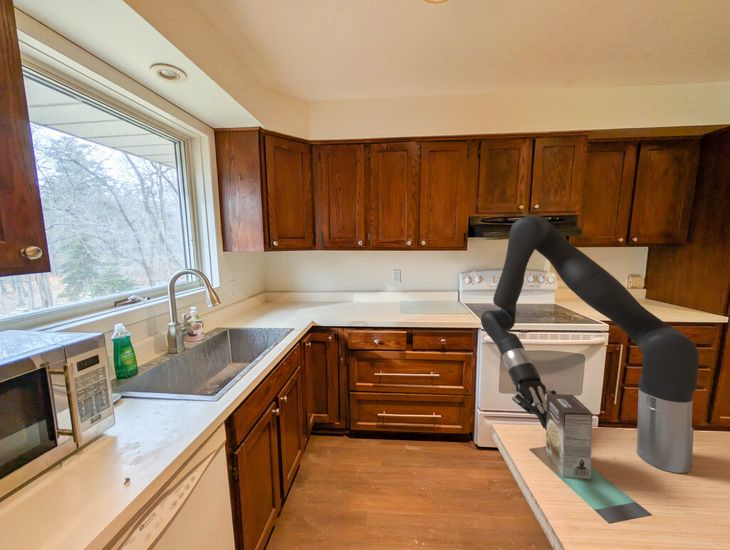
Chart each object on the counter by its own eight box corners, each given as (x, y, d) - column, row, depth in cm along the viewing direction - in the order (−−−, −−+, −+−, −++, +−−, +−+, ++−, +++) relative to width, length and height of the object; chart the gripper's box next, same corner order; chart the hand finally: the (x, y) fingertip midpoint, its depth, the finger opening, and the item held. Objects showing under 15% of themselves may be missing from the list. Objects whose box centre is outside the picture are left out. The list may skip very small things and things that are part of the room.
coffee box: (544, 451, 77) (545, 392, 76) (571, 453, 76) (572, 393, 75) (562, 477, 68) (563, 411, 67) (592, 480, 67) (594, 413, 66)
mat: (561, 445, 79) (561, 444, 79) (652, 516, 58) (652, 514, 58) (528, 449, 78) (528, 448, 78) (608, 524, 56) (608, 523, 56)
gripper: (505, 363, 84) (535, 429, 73) (546, 359, 86) (581, 423, 75) (494, 373, 90) (521, 436, 78) (533, 370, 91) (564, 430, 80)
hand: (550, 429), depth 77 cm, fingers closed
